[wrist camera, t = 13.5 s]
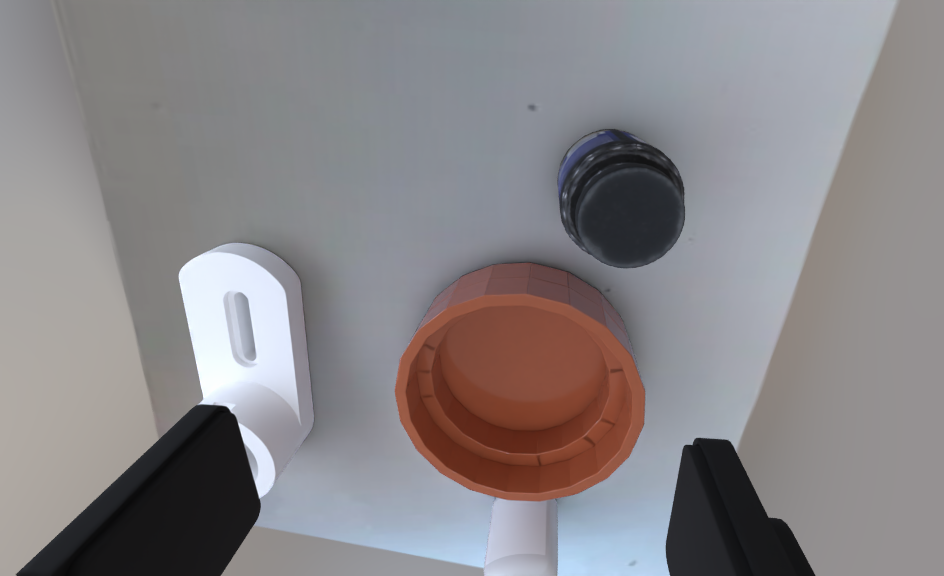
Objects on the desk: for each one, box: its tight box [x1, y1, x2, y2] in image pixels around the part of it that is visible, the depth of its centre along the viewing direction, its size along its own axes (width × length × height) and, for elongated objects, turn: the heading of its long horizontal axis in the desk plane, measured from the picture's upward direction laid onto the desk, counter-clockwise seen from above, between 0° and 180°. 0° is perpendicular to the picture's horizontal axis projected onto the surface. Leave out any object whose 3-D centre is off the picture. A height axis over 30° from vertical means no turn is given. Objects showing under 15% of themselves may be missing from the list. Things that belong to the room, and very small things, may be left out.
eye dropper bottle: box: [484, 498, 558, 576], centre depth 38 cm, size 4×6×12 cm
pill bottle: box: [558, 129, 685, 268], centre depth 27 cm, size 6×6×11 cm
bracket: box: [179, 243, 314, 498], centre depth 39 cm, size 20×9×7 cm, turn 177°
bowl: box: [395, 263, 645, 502], centre depth 35 cm, size 17×17×6 cm
